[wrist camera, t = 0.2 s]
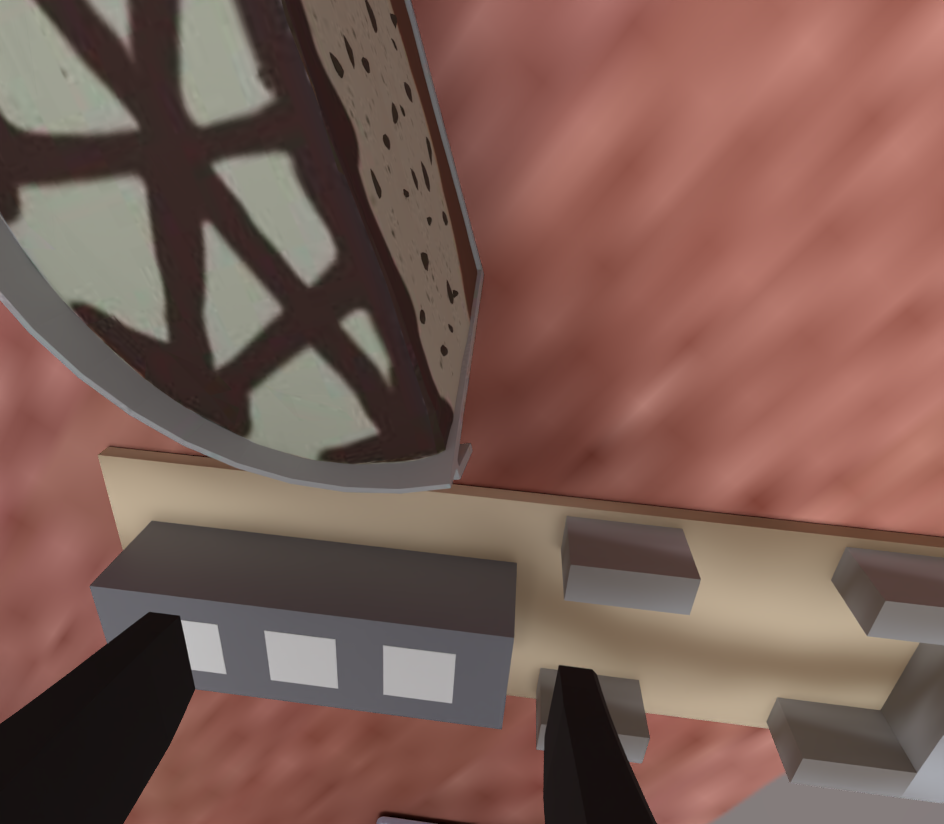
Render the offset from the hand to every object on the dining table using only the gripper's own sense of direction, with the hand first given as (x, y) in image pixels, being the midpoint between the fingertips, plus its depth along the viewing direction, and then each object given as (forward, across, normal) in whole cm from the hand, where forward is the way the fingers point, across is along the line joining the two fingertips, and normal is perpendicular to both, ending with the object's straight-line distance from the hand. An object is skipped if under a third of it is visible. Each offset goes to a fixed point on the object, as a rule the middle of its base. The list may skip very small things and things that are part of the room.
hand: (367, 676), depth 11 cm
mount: (+10, -4, +7) cm, 13 cm away
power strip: (+9, +4, +7) cm, 12 cm away
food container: (+10, +3, -9) cm, 14 cm away
